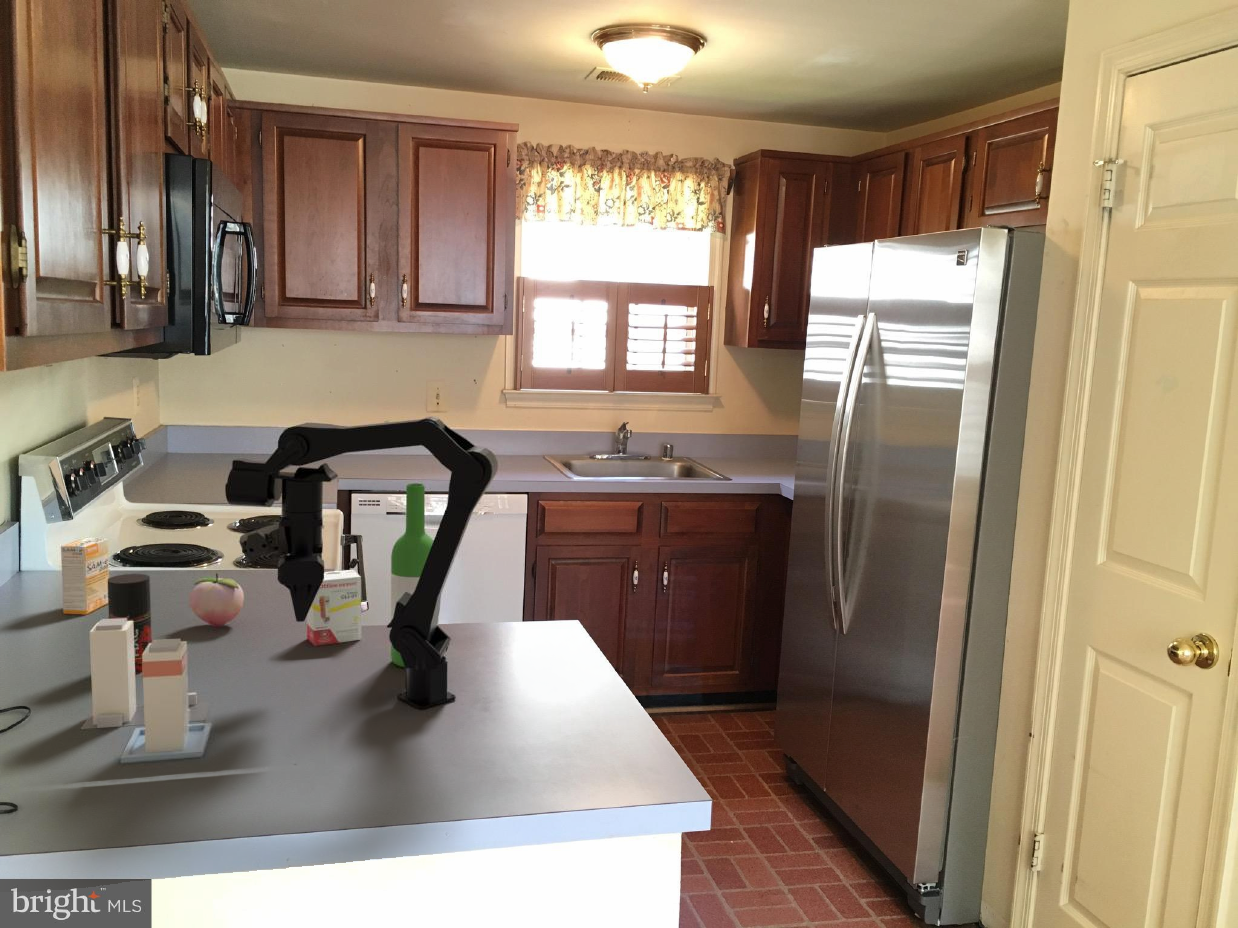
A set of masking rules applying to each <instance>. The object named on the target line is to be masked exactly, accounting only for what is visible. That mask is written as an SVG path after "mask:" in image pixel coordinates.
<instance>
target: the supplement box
mask: <svg viewBox="0 0 1238 928" xmlns="http://www.w3.org/2000/svg"><path fill="white" fill-rule="evenodd" d="M60 557H61V559H60V561H61V582H62V583H61V584H62V586H61V587H62V588H61V589H62V608H63V609H62V610H63V614H64V615H65V614H67V615H89V614H90V613H92V612H94V611H96V610H98V609H99V608H102V607H103V606H106V605H108V579H109V578H110V574H109V573H110V570H109V569H110V567H109V565H110V564H109V563H110V562H109V538H107V537H106V538H104V537H85V538H82V539H78V540H75V541H73V542H70V543H66V544H64V545H63V544H62V545H61V546H60Z"/></svg>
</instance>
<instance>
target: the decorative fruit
mask: <svg viewBox="0 0 1238 928" xmlns="http://www.w3.org/2000/svg"><path fill="white" fill-rule="evenodd" d="M215 577H216V578H215ZM215 577H204V578H203V577H202V578H200V579H198V580H196V581H195V583H194V584H193V585H194V586H195V587H194V588H193V590H192V591H191V593H190V596H189V606H190V609H191V611H192V612H193V613H194V614H195V615H196V616H197V618H199V620H202V621H203V622H205V623H206V624H209V625H211V626H213V627H218V628H219V627H222V626H223V625H226V624H227V623H229V622H232V620H234V619H235V618H237V617H238V615H239V614H240V612H241V610H242V609H243V604H244V600H245V594H244V590H243V589H242V587H241V585H240V584H238V583H237V581H235V580H234V579H232V578H219V574H218V573H217V572H216V573H215Z"/></svg>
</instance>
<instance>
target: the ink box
mask: <svg viewBox="0 0 1238 928" xmlns="http://www.w3.org/2000/svg"><path fill="white" fill-rule="evenodd" d="M306 639H307V640H308V641H309V642H310V643H311V644H312V646H314V647H317V646H324V645H331V644H340V643H345V642H355V641H360V640H362V576H361V575H360V574H359V572H357V571H356V570H353V569H348V570H347V569H346V570H337V571H335V570H334V571H324V580H323V583H322V584H321V586H320V588H319V590H318V592H317V594H316V596H315V599H314V601H313V603H312V605H311V607H310V610H309V612H308V614H307V616H306Z"/></svg>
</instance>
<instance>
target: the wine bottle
mask: <svg viewBox="0 0 1238 928" xmlns="http://www.w3.org/2000/svg"><path fill="white" fill-rule="evenodd" d="M425 488H426V487H425V485H424V484H423V483H416V482H415V483H408V484H407V485H406V494H405V495H406V497H405V499H406V503H405V508H406V509H405V532H404V533H403V534H402V535H401V536H400V537H399V538H398V539H397V540H396V542H395V543H394V544H393V546H392V551H391V558H390V559H391V562H390V563H391V564H390V621H391V620H392V619H393V616H394V611H395V606H396V603H397V601H398V600H399V599H400V598H401V597H402V595H403V594H404V593H405V592H408V593H409V594H411V595H412V594H413V593H414V591H415V589H416V586H417V583H418V581H419V578H420V576H421V573H422V570H423V568H424V565H425V562H426V560H427V557H428V555H429V552H430V549H431V547H432V544H433V541H434V539H433V538H432V537H431V536H430V535H428V534H427V532H426V531H425V530H426V529H425V518H426V517H425V516H426V515H425V509H426V508H425V502H426V501H425V498H426V497H425V492H426V491H425ZM437 625H438V626H439V621H438V622H437ZM391 628H392V627H391ZM391 628H390V629H391ZM390 658H391V660H392V662H393V663H394V664H395V665H396V666H397V667H401V668H405V666H404V663H403V660H402V658H401V655H400V653H399V652H397V651H396V650H395V649H394V648H393V646H392V644H391V643H390ZM394 664H393V665H394Z"/></svg>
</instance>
